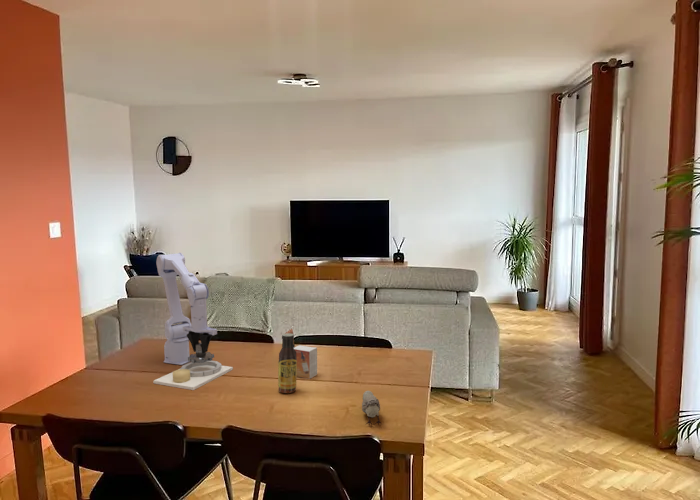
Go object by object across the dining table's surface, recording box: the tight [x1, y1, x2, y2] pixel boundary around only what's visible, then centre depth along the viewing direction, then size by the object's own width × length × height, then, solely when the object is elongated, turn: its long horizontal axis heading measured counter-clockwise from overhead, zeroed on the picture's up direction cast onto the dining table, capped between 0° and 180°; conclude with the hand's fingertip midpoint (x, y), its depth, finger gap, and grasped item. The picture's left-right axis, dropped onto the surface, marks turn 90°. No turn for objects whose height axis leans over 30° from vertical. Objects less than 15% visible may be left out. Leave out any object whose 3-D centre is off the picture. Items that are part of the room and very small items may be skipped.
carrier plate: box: [152, 360, 234, 391], centre depth 200 cm, size 18×23×4 cm
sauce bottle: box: [277, 332, 298, 394], centre depth 183 cm, size 6×6×20 cm
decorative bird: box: [361, 390, 382, 426], centre depth 163 cm, size 5×16×8 cm, turn 6°
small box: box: [294, 344, 318, 380], centre depth 199 cm, size 8×6×10 cm
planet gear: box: [188, 341, 215, 363], centre depth 203 cm, size 10×10×6 cm
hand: (200, 351), depth 203 cm, fingers closed on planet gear, 4 cm apart
